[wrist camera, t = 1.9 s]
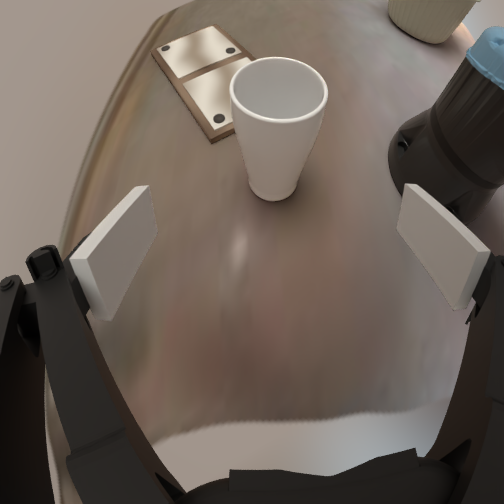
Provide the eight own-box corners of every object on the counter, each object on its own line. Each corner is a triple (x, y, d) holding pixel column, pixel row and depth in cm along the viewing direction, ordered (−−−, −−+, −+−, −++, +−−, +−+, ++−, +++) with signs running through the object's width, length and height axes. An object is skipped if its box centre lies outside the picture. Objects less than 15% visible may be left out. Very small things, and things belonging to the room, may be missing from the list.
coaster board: (216, 27, 39) (215, 21, 37) (295, 105, 34) (296, 97, 32) (151, 55, 38) (149, 48, 36) (211, 143, 33) (209, 137, 31)
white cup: (315, 181, 31) (349, 90, 17) (273, 222, 31) (282, 141, 16) (272, 144, 33) (276, 45, 18) (229, 181, 32) (206, 86, 17)
